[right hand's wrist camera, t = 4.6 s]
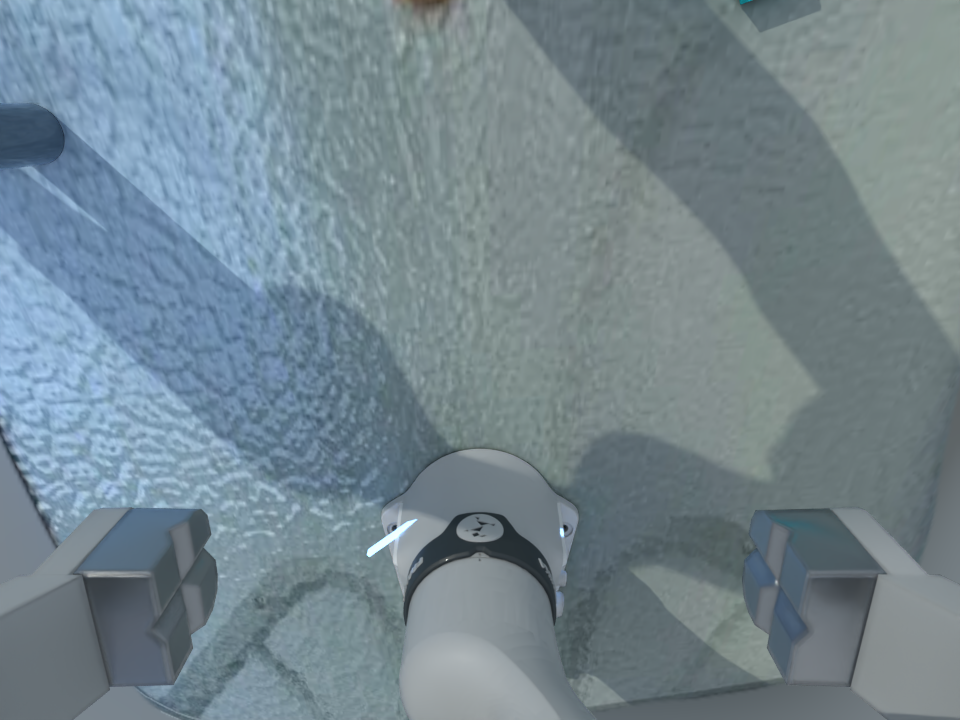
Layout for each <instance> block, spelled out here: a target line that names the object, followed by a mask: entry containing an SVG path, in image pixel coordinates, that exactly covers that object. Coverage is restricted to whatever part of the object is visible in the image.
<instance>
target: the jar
mask: <svg viewBox="0 0 960 720" xmlns="http://www.w3.org/2000/svg"><path fill="white" fill-rule="evenodd" d="M63 146H64V135H63V131H62V128H61V126H60V124H59V122H58V121H57V119H56V118H55V117H54V116H53V115H52V114H51V113H50V112H49V111H48V110H46V109H45V108H43V107H41V106H39V105H35V104H29V103H0V170H6V169H13V168H21V167H28V166H35V165H42V164H48V163H50V162H53V161H54V160H55V159H57V158H58V156H59V155H60V154H61V152H62V149H63Z"/></svg>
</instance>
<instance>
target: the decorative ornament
mask: <svg viewBox="0 0 960 720" xmlns="http://www.w3.org/2000/svg"><path fill="white" fill-rule="evenodd" d="M739 1H740V5H741V4H743V3H746V2H749V1H751V0H739Z"/></svg>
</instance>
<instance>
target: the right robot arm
mask: <svg viewBox="0 0 960 720" xmlns="http://www.w3.org/2000/svg"><path fill="white" fill-rule="evenodd" d="M381 521H382V525H383V528H384V532H385V535H386V537H385V538H384V539H382V540H381V541H380V542H378V543H377V544H375V545H374V546H372V547H371V548H370V549H368V553H367V555H368V556H369V557H370V556H371V555H373V554H374V553H376V552H377V551H378V550H380V549H381V548H383V547H384V546H386V545H387V544H388V545H389V549H390V552H391V556H392V559H393V563H394V566H395V569H396V573H397V576H398V580H399V583H400V587H401V590H402V594H403V602H404V620H405V625H406V632H405V639H404V646H403V654H402V661H401V668H400V676H399V689H400V696H401V700H402V704H403V707H404V709H405V712H406V714H407V716H408V718H409V719H410V720H597V719H596V718H595V716H594V715H593V714H592V713H591V712H590V711H589V710H588V709H587V708H586V706H585V705H584V704H583V703H582V701H581V700H580V699H579V698H578V696H577V695H576V693H575V692H574V690H573V689H572V687H571V685H570V683H569V681H568V679H567V677H566V675H565V672H564V669H563V665H562V661H561V658H560V654H559V650H558V645H557V641H556V635H555V630H554V625H555V621H556V617H558V618H559V617H561V616H562V613H563V607H564V595H563V593H561V592H560V591H558V590H559V587H560V586H561V587H562V586H563V587H564V586H565V585H566V581H567V572H566V571H564V570H565V566H566V563H567V559H568V556H569V552H570V549H571V545H572V542H573V539H574V535H575V532H576V528H577V525H578V521H579V515H578V510H577V508H576V507H575V506H574V505H573V504H572V503H571V502H569V501H568V500H566V499H564V498H563V497H561V496H559V495H557V494H556V493H555V492H554V491H553V490H552V489H551V488H550V487H549V485H548V484H547V482H546V481H545V480H544V478H543V477H542V476H541V475H540V473H539V472H538V471H537V470H536V469H534V468H533V467H532V466H531V465H530V464H528V463H527V462H525V461H524V460H522V459H520V458H518V457H516V456H514V455H511V454H509V453H506V452H502V451H498V450H492V449H468V450H462V451H458V452H454V453H451V454H449V455H446V456H444V457H442V458H440V459H438V460H436V461H435V462H433V463H432V464H430V465H429V466H428V467H427V468H426V469H424V470H423V471H422V472H421V473H420V475H419V476H418V477H417V478H416V480H415V481H414V482H413V484H412V485H411V487H410V488H409V489H408V490H407V491H406V492H405V493H404V494H403V495H401V496H399V497H397V498H396V499H394V500H392V501H391V502H389V503H388V504H387V505H386V506H385V507H384V508H383V510H382V516H381ZM394 525H397V528H395V527H394ZM563 525H566V527H565V528H563ZM210 536H211V530H210V525H209V520H208V515H207V514H206V513H205V512H204V511H203V510H202V509H171V508H131V507H124V508H100V509H96V510H93V511H92V512H91V513H90V514H89V516H88V517H87V518H86V519H85V520H84V521H83V522H82V523H81V524H80V525H79V526H78V527H77V528H76V529H75V530H74V531H73V532H72V533H71V534H70V535H69V536H68V537H67V538H66V539H65V540H64V541H63V542H62V544H61V545H60V546H59V547H58V548H57V549H56V550H55V551H54V552H53V553H52V554H51V555H50V556H49V557H48V558H47V559H46V560H45V561H44V562H43V563H42V564H41V565H40V566H39V567H38V568H37V569H36V570H35V571H34V573H33V574H32V575H18V576H16V577H14V578H12V579H10V580H8V581H6V582H3V583H1V584H0V720H73V719H75V718H76V717H77V716H78V715H80V714H81V713H82V712H83V711H84V710H86V709H87V708H88V707H90V706H91V705H92V704H93V703H94V702H96V701H97V700H98V699H99V698H101V697H102V696H103V695H104V694H105V693H107V692H108V691H109V690H110V688H109V687H118V686H154V685H174V683H175V681H176V679H177V677H178V675H179V673H180V672H181V670H182V668H183V666H184V664H185V662H186V660H187V658H188V657H189V655H190V653H191V651H192V649H193V645H192V639H191V634H193V633H194V632H196V631H197V630H198V629H200V628H201V627H203V626H204V625H205V624H206V622H207V620H208V618H209V616H210V614H211V612H212V610H213V607H214V602H215V598H216V594H217V577H218V574H217V567H216V560H215V559H214V558H213V557H212V556H211V555H210V554H209V553H208V552H207V551H206V550H205V549H204V548H203V547H204V546H205V544H206V542H207V541H208V539H209V537H210ZM749 536H750V537H751V539H752V541H753V542H754V544H755V546H756V547H757V548H756V549H755V550H754V551H753V552H752V553H751V554H750V555H749V556H748V557H747V558H746V559H745V560H744V568H743V576H742V583H743V593H744V600H745V603H746V606H747V610H748V613H749V615H750V617H751V619H752V621H753V623H754V624H755V625H756V626H757V627H759V628H760V629H762V630H763V631H764V632H766V633H767V634H769V639H768V645H767V649H768V651H769V653H770V655H771V657H772V658H773V660H774V662H775V664H776V666H777V668H778V670H779V671H780V673H781V675H782V677H783V679H784V681H785V683H786V684H787V685H805V686H840V687H850V690H851V691H852V692H853V693H855V694H856V695H857V696H858V697H860V698H861V699H862V700H863V701H865V702H866V703H867V704H868V705H870V706H871V707H872V708H873V709H874V710H876V711H877V712H878V713H879V714H881V715H882V716H883V717H884V718H886V719H887V720H960V584H959V583H956V582H954V581H952V580H950V579H948V578H946V577H944V576H942V575H928V574H927V573H926V571H925V570H924V569H923V568H922V567H921V566H920V565H919V564H918V563H917V562H916V561H915V560H914V559H913V558H912V557H911V556H910V555H909V554H908V553H907V552H906V551H905V550H904V549H903V548H902V547H901V545H900V544H899V543H898V542H897V541H896V540H895V539H894V538H893V537H892V536H891V535H890V534H889V533H888V532H887V531H886V530H885V529H884V528H883V527H882V526H881V525H880V524H879V523H878V522H877V521H876V520H875V518H874V517H873V516H872V515H871V514H870V513H869V512H868V511H866V510H864V509H861V508H859V507H847V508H824V509H788V510H756V511H755V513H754V515H753V517H752V519H751V524H750V530H749Z"/></svg>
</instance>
